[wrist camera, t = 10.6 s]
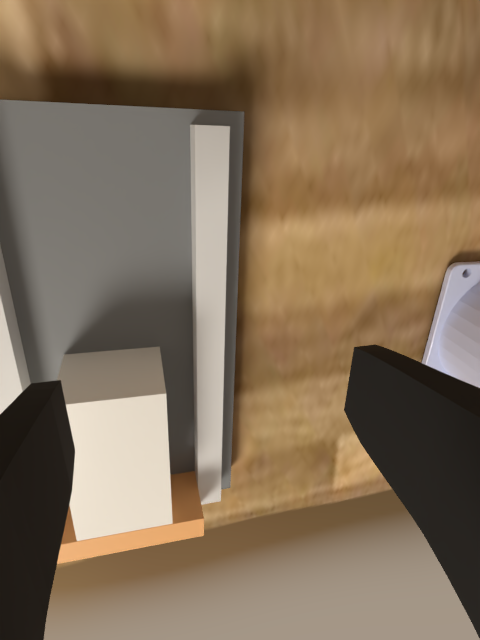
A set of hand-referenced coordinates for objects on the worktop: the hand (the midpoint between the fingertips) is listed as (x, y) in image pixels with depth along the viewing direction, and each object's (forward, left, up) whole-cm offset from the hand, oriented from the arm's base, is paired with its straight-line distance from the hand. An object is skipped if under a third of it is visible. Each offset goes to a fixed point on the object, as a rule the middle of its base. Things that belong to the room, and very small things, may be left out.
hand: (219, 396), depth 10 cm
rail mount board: (+3, +3, -9) cm, 10 cm away
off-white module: (+3, +6, -8) cm, 11 cm away
